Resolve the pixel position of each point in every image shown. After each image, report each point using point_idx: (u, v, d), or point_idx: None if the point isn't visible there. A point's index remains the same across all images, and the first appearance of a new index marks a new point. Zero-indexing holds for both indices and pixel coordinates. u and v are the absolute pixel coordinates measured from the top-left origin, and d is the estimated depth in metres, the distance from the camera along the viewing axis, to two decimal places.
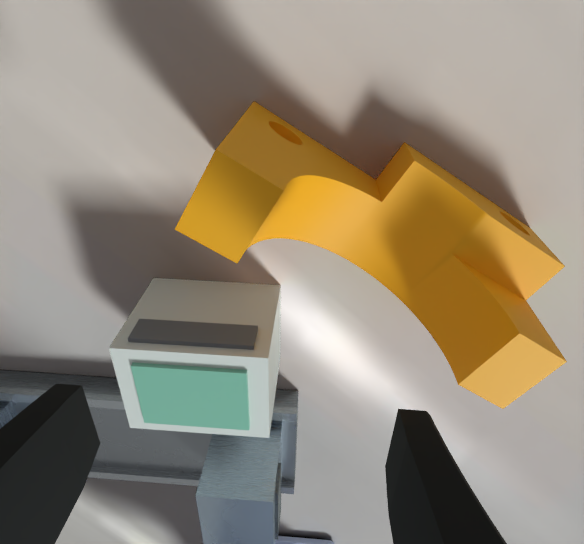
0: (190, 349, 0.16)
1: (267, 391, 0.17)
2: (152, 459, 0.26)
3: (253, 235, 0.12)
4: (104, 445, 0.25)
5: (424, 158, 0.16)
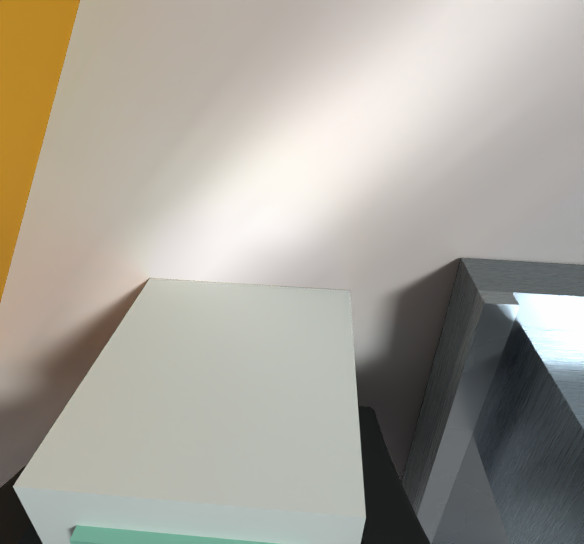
0: None
1: (146, 500, 0.06)
2: None
3: None
4: None
5: None
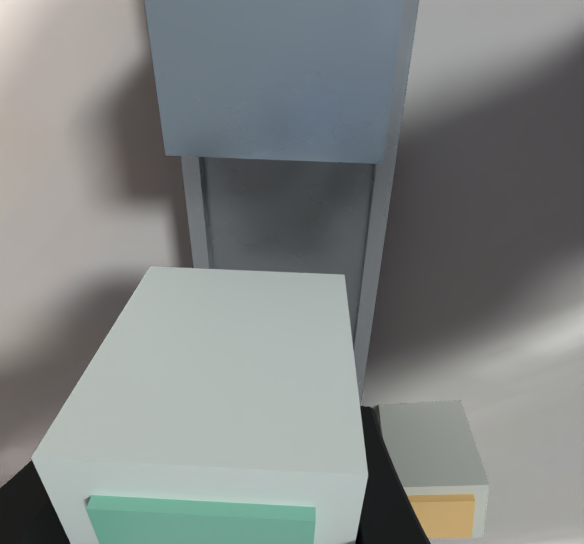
0: None
1: (159, 466, 0.06)
2: (336, 238, 0.16)
3: None
4: None
5: None
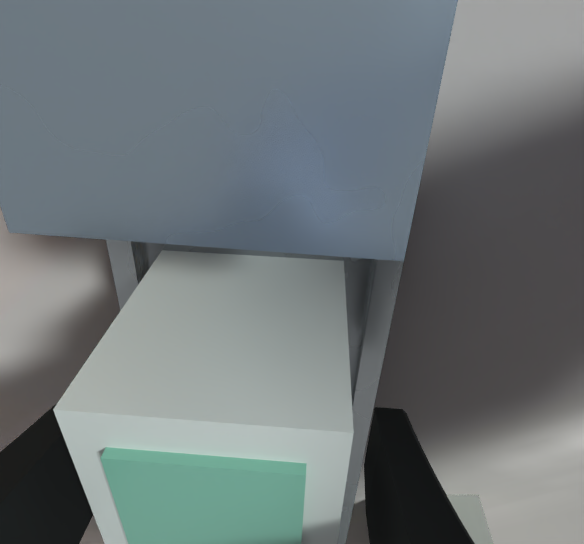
0: None
1: (166, 420, 0.06)
2: None
3: None
4: None
5: None
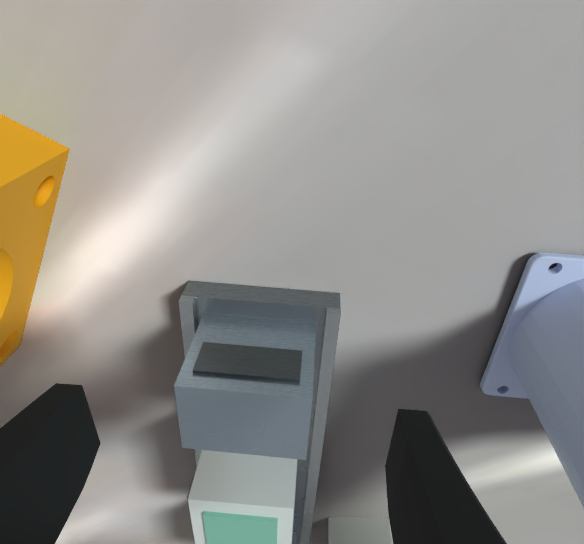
0: (195, 531, 0.20)
1: (228, 503, 0.18)
2: None
3: None
4: None
5: None
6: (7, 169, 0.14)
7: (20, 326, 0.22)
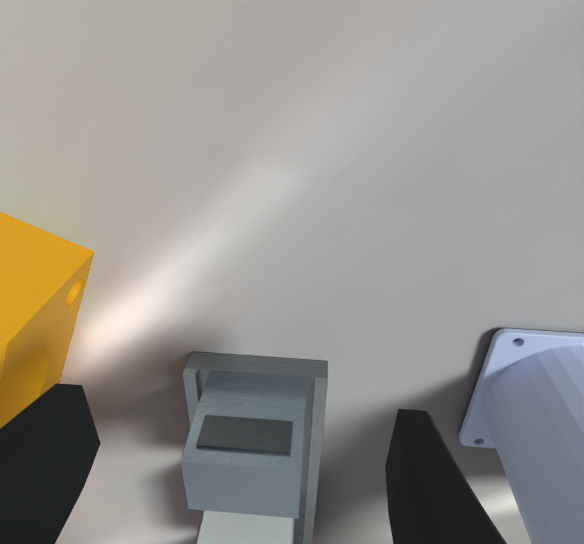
0: None
1: None
2: None
3: None
4: None
5: None
6: (45, 287, 0.17)
7: None
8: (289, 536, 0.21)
